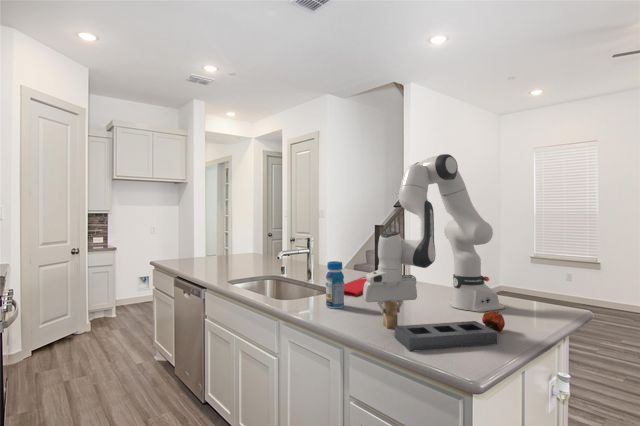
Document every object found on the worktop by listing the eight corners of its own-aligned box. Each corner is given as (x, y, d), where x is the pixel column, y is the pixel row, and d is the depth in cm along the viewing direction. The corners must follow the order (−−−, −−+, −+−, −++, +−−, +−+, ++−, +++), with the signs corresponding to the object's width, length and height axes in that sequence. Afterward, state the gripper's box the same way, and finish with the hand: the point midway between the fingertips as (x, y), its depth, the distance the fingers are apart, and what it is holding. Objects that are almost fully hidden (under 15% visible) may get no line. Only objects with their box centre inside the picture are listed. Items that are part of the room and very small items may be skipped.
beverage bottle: (341, 309, 160) (341, 263, 160) (323, 307, 163) (322, 263, 163) (346, 304, 168) (346, 261, 168) (329, 303, 171) (329, 260, 170)
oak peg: (393, 324, 138) (393, 298, 138) (397, 327, 134) (397, 300, 134) (383, 325, 138) (383, 298, 138) (387, 328, 134) (387, 301, 134)
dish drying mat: (329, 294, 191) (329, 287, 191) (363, 281, 226) (363, 275, 226) (356, 297, 183) (356, 290, 183) (387, 283, 218) (387, 277, 218)
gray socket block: (475, 332, 129) (475, 320, 129) (497, 344, 117) (497, 331, 117) (394, 337, 124) (394, 326, 124) (409, 351, 112) (409, 338, 112)
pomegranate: (500, 342, 126) (514, 320, 129) (489, 326, 124) (503, 305, 128) (482, 337, 132) (496, 317, 136) (472, 323, 131) (486, 303, 135)
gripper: (412, 273, 141) (412, 308, 141) (361, 275, 137) (361, 311, 137) (419, 275, 135) (420, 313, 135) (366, 278, 131) (366, 316, 131)
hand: (390, 312), depth 136 cm, fingers closed on oak peg, 4 cm apart
